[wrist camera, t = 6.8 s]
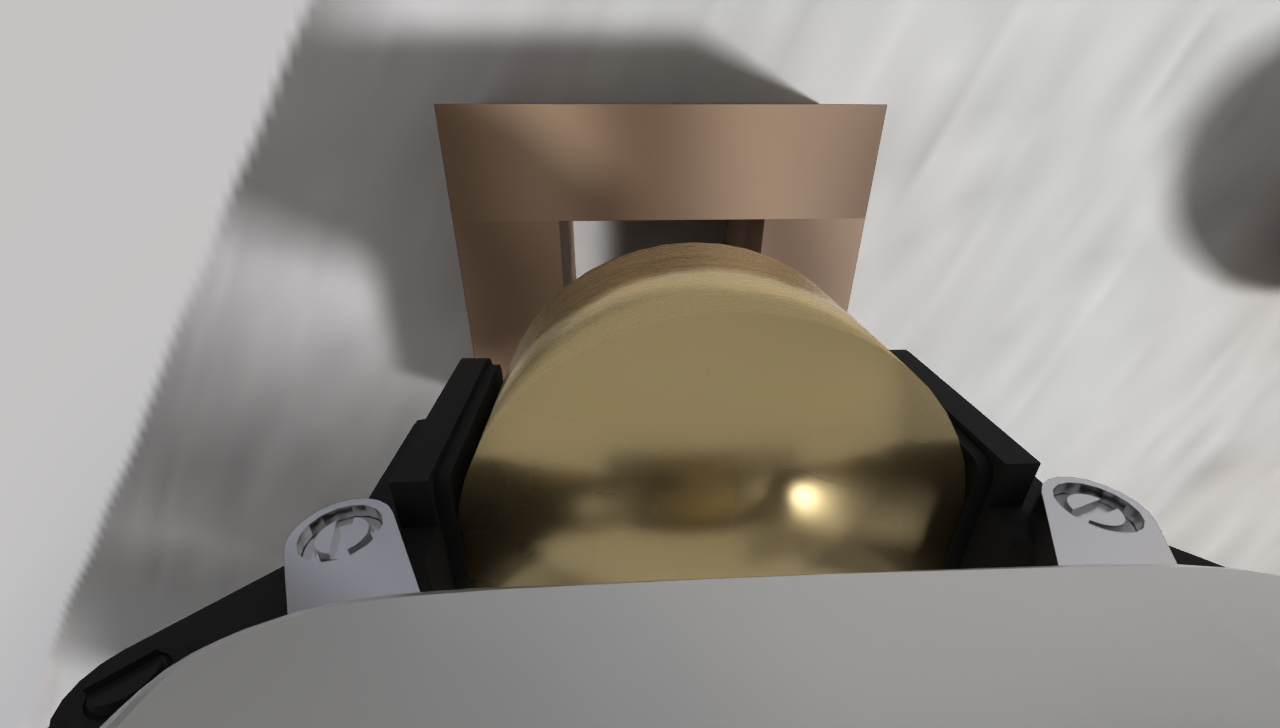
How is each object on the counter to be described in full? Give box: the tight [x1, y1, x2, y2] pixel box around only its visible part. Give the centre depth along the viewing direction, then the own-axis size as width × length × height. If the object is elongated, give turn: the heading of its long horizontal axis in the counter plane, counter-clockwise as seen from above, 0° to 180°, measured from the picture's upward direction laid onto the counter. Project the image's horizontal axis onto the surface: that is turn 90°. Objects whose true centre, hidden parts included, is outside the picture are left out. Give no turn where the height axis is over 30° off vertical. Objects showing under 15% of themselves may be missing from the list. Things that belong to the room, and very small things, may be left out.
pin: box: [458, 242, 966, 588], centre depth 11 cm, size 8×8×8 cm
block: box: [434, 104, 887, 381], centre depth 19 cm, size 12×12×5 cm
